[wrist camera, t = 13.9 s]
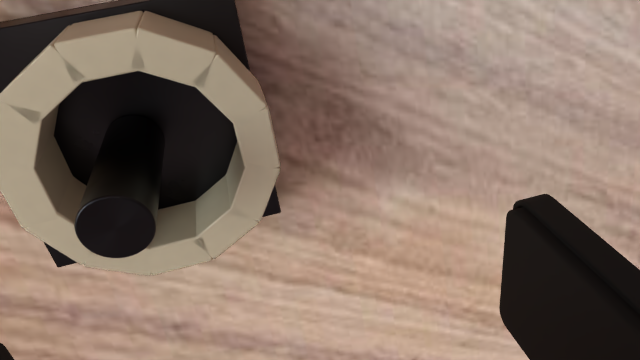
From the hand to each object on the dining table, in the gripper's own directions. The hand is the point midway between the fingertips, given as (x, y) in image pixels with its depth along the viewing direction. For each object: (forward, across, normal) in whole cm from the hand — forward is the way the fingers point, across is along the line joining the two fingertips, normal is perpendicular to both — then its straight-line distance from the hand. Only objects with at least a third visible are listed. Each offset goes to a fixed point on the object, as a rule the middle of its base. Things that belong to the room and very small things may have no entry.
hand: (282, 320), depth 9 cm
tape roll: (+10, +3, 0) cm, 11 cm away
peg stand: (+11, +4, 0) cm, 12 cm away
